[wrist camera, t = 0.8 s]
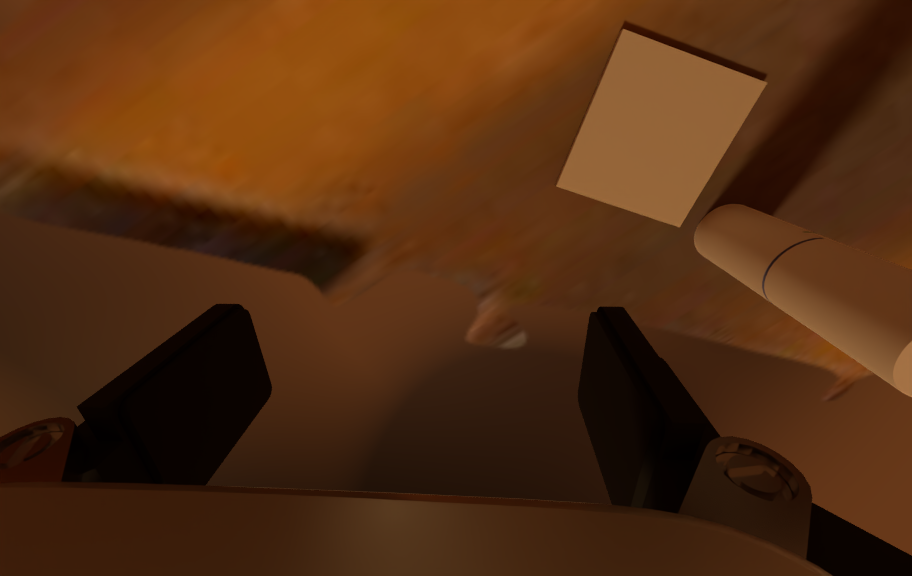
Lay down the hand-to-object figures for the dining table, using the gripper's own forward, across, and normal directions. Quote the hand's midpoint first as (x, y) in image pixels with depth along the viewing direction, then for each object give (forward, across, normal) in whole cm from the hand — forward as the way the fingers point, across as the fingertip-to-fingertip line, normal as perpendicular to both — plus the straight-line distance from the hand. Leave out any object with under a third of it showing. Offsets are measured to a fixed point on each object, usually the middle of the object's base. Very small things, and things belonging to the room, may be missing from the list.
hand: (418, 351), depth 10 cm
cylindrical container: (+38, -32, +8) cm, 50 cm away
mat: (+37, -21, -3) cm, 43 cm away
